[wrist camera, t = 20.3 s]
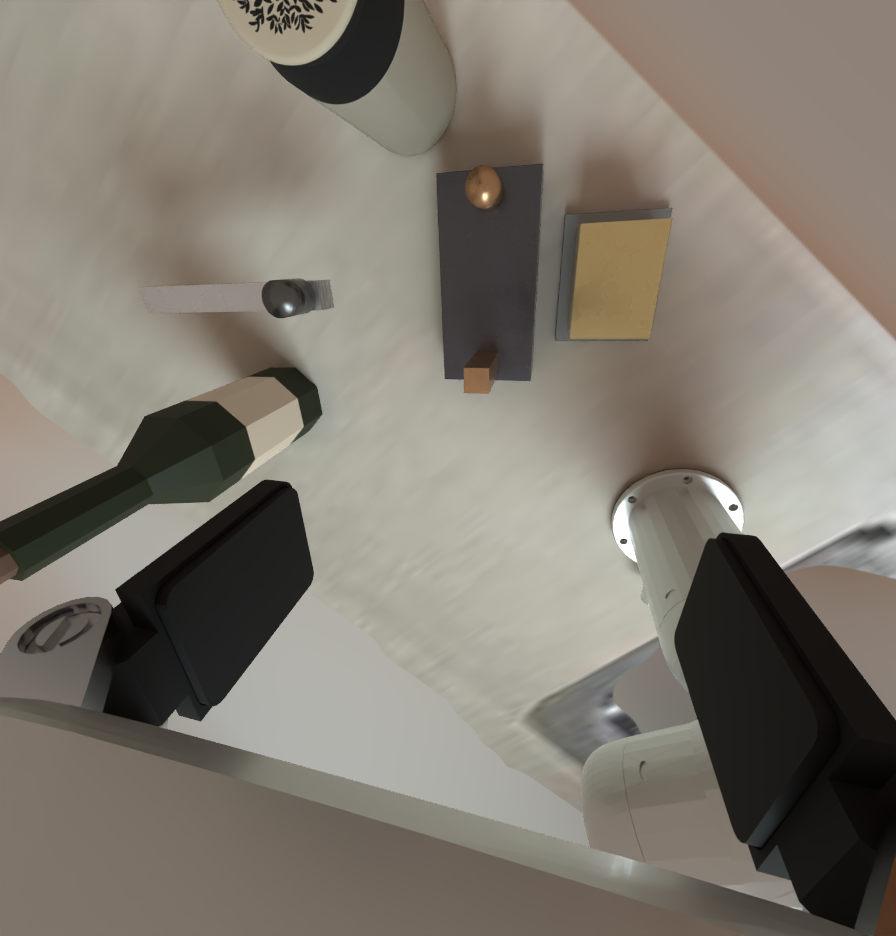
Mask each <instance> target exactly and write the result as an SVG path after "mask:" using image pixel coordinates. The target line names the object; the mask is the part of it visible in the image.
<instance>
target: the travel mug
mask: <svg viewBox="0 0 896 936" xmlns="http://www.w3.org/2000/svg"><path fill="white" fill-rule="evenodd" d="M217 1H218V3H219V6H220V8H221V9H222V11H223V13H224V15H225V17H226V18H227V20H228V22H229V23H230V25H231V26H232V28H233V29H234V30H235V32H236V33H237V34H238V36H239V37H240V38H241V39H242V40H243V41H244V42H245V43H246V44H247V45H248V46H249V47H250V48H251V49H252V50H254V51H255V52H256V53H258V54H259V55H261V56H262V57H264V58H266V59H268V60H269V61H270V62H271V63H272V65H273V66H274V67H275V69H276V70H277V71H278V72H279V73H280V74H281V75H282V76H283V77H284V78H285V79H286V80H287V81H288V82H290V83H291V84H293V85H294V86H295V87H297V88H298V89H300V90H301V91H303V92H304V93H306V94H307V95H309V96H310V97H311V98H313V99H314V100H316V101H317V102H319V103H320V104H322V105H323V106H325V107H326V108H328V109H329V110H330V111H332V112H333V113H335V114H336V115H338V116H339V117H341V118H342V119H344V120H345V121H347V122H348V123H350V124H351V125H352V126H354V127H355V128H357V129H358V130H360V131H361V132H363V133H364V134H366V135H367V136H369V137H370V138H371V139H373V140H374V141H376V142H377V143H379V144H380V145H382V146H383V147H385V148H386V149H388V150H389V151H391V152H393V153H395V154H399V155H404V156H412V155H417V154H420V153H423V152H425V151H427V150H428V149H430V148H431V147H432V146H433V145H435V144H436V143H437V142H438V140H439V139H440V138H441V137H442V135H443V134H444V132H445V131H446V129H447V127H448V125H449V123H450V120H451V118H452V114H453V111H454V106H455V100H456V77H455V71H454V67H453V63H452V60H451V57H450V55H449V53H448V51H447V49H446V46H445V44H444V42H443V40H442V38H441V36H440V34H439V32H438V30H437V28H436V26H435V24H434V22H433V20H432V18H431V16H430V14H429V12H428V10H427V7H426V5H425V3H424V1H423V0H217Z"/></svg>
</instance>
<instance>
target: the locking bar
mask: <svg viewBox="0 0 896 936" xmlns="http://www.w3.org/2000/svg"><path fill="white" fill-rule="evenodd" d="M139 288H140V291H141V294H142V296H143V299H144V302H145V305H146V308H147V311H148V313H193V312H249V311H268V312H269V313H270V314H271V315H273V316H274V317H277V318H286V317H291V316H295V315H300V314H304V313H308V312H310V311H311V310H325V309H329V308H334V304H333V298H332V292H331V285H330V280H309V281H305V280H303V279H285V280H272V281H269V282H253V283H225V284H197V285H169V286H150V287H139Z"/></svg>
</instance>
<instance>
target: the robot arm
mask: <svg viewBox="0 0 896 936" xmlns="http://www.w3.org/2000/svg"><path fill="white" fill-rule="evenodd" d="M685 477H686V478H685ZM630 496H632V497H630ZM743 524H744V510H743V507H742V504H741V502H740V500H739V498H738V497H737V495H736V494H735V493H734V491H733V490H732V489H731V488H730V487H729V486H728V485H727V484H726V483H724V482H723V481H722V480H720V479H719V478H717V477H715V476H713V475H711V474H708V473H705V472H701V471H697V470H689V469H674V470H667V471H662V472H657V473H655V474H652V475H649V476H646V477H644V478H643V479H641V480H639V481H637V482H635V483H634V484H633V485H632V486H630V487H629V488H628V489H627V490H626V491H625V492H624V493H623V494H622V495H621V497H620V498H619V499H618V501H617V503H616V505H615V507H614V510H613V513H612V522H611V525H612V531H613V535H614V538H615V541H616V543H617V544H618V546H619V548H620V549H621V550H622V551H623V552H624V553H625V554H626V555H627V556H628V557H629V558H631V559H632V560H634V561H635V562H637V565H638V568H639V572H640V575H641V579H642V582H643V590H642V594H641V600H642V601H643V602H644V603H645V604H647V605H649V606H650V610H651V613H652V617H653V620H654V624H655V627H656V630H657V634H658V637H659V641H660V645H661V648H662V651H663V655H664V657H665V660H666V662H667V664H668V666H669V668H670V670H671V671H672V673H673V675H674V676H675V678H677V680H678V681H679V682H680V684H681V685H682V686H683V687H684V688H685V689H686V690H687V691H688V692H689V694H690V697H691V700H692V703H693V706H694V709H695V712H696V715H697V719H698V720H695V721H693V722H692V723H688V724H683V725H679V726H674V727H670V728H666V729H661V730H657V731H653V732H648V733H643V734H639V735H634V736H630V737H626V738H622V739H618V740H615V741H612V742H609V743H606V744H604V745H602V746H600V747H599V748H597V749H596V750H595V751H594V752H593V753H592V754H591V755H590V756H589V757H588V759H587V761H586V763H585V764H584V768H583V771H582V775H581V788H580V791H581V805H582V813H583V818H584V824H585V828H586V832H587V836H588V840H589V844H590V847H586V846H583V845H579V844H576V843H572V842H569V841H565V840H562V839H558V838H555V837H551V836H548V835H544V834H541V833H537V832H533V831H530V830H527V829H523V828H520V827H516V826H513V825H509V824H506V823H502V822H499V821H495V820H492V819H488V818H485V817H481V816H478V815H474V814H471V813H467V812H463V811H460V810H457V809H453V808H450V807H446V806H442V805H439V804H435V803H432V802H428V801H425V800H421V799H418V798H414V797H410V796H407V795H403V794H400V793H396V792H393V791H389V790H385V789H382V788H378V787H375V786H371V785H368V784H364V783H360V782H357V781H353V780H349V779H346V778H343V777H339V776H335V775H332V774H328V773H324V772H321V771H317V770H314V769H310V768H306V767H303V766H299V765H296V764H292V763H289V762H285V761H282V760H278V759H274V758H270V757H267V756H263V755H260V754H256V753H252V752H249V751H245V750H242V749H238V748H234V747H231V746H227V745H223V744H220V743H216V742H212V741H208V740H205V739H201V738H198V737H194V736H190V735H186V734H183V733H179V732H176V731H172V730H168V729H167V723H168V717H169V716H170V715H171V714H172V713H173V712H174V710H175V709H176V710H177V713H178V714H179V716H183V717H187V718H190V719H194V720H198V721H201V720H202V719H203V718H204V717H205V715H206V714H207V713H208V711H209V710H210V709H211V708H212V706H216V705H218V704H219V703H220V702H221V701H222V700H223V699H224V698H225V697H226V695H227V694H228V693H229V691H230V690H231V689H232V687H233V686H234V685H235V684H236V682H237V681H238V680H239V678H240V677H241V676H242V674H243V673H244V672H245V670H246V669H247V668H248V666H249V665H250V664H251V663H252V661H253V660H254V658H255V657H256V656H257V655H258V653H259V652H260V651H261V649H262V648H263V647H264V645H265V644H266V643H267V641H268V640H269V639H270V638H271V636H272V635H273V634H274V632H275V631H276V630H277V628H278V627H279V626H280V624H281V623H282V622H283V620H284V619H285V618H286V617H287V615H288V614H289V613H290V611H291V610H292V609H293V607H294V606H295V605H296V603H297V602H298V601H299V599H300V598H301V597H302V595H303V594H304V593H305V591H306V590H307V589H308V588H309V586H310V585H311V583H312V580H313V575H314V572H313V566H312V561H311V556H310V551H309V547H308V542H307V537H306V532H305V527H304V522H303V518H302V513H301V508H300V503H299V498H298V494H297V491H296V490H295V489H293V488H292V486H291V485H290V483H288V482H283V481H275V480H263V481H261V482H260V483H259V484H257V485H256V486H255V487H253V488H252V489H251V490H249V491H248V492H247V493H245V494H244V495H242V496H241V497H240V498H238V499H237V500H236V501H234V502H233V503H232V504H230V505H229V506H228V507H226V508H225V509H224V510H222V511H221V512H219V513H218V514H217V515H215V516H214V517H213V518H211V519H210V520H209V521H207V522H206V523H205V524H203V525H202V526H201V527H199V528H198V529H196V530H195V531H194V532H192V533H191V534H190V535H188V536H187V537H186V538H184V539H183V540H182V541H180V542H179V543H178V544H176V545H175V546H173V547H172V548H171V549H170V550H168V551H167V552H165V553H164V554H163V555H162V556H160V557H159V558H157V559H156V560H155V561H153V562H152V563H151V564H149V565H148V566H146V567H145V568H144V569H142V570H141V571H140V572H138V573H137V574H136V575H134V576H133V577H131V578H130V579H129V580H127V581H126V582H125V583H124V584H122V585H121V586H120V587H118V588H117V589H115V590H116V592H117V594H118V596H119V598H120V600H121V603H120V604H119V605H117V606H116V607H115V608H113V607H112V605H111V604H110V603H109V601H108V600H107V599H104V598H100V597H86V598H80V599H75V600H71V601H69V602H66V603H63V604H60V605H57V606H55V607H53V608H51V609H49V610H47V611H45V612H42V613H41V614H39V615H38V616H36V617H34V618H33V619H31V620H30V621H28V622H27V623H26V624H24V625H23V626H22V627H21V628H20V629H18V630H17V631H16V632H15V633H14V634H13V636H12V637H11V638H10V640H9V641H8V642H7V644H6V645H5V647H4V649H3V651H2V653H1V654H0V936H896V720H895V719H894V717H893V716H892V715H891V714H890V712H889V711H888V709H887V708H886V707H885V705H884V704H883V703H882V701H881V700H880V699H879V697H878V696H877V695H876V693H875V692H874V691H873V690H872V688H871V687H870V686H869V684H868V683H867V682H866V680H865V679H864V678H863V676H862V675H861V674H860V672H859V671H858V670H857V668H856V667H855V666H854V664H853V663H852V662H851V660H850V659H849V658H848V656H847V655H846V654H845V652H844V651H843V650H842V648H841V647H840V646H839V644H838V643H837V642H836V640H835V639H834V638H833V636H832V635H831V634H830V633H829V631H828V630H827V629H826V627H825V626H824V624H823V623H822V622H821V620H820V619H819V618H818V616H817V615H816V614H815V612H814V611H813V610H812V608H811V607H810V606H809V605H808V603H807V602H806V601H805V599H804V598H803V597H802V595H801V594H800V593H799V591H798V590H797V589H796V587H795V586H794V585H793V583H792V582H791V581H790V579H789V578H788V577H787V575H786V574H785V573H784V571H783V570H782V569H781V567H780V566H779V565H778V563H777V562H776V561H775V559H774V558H773V557H772V555H771V554H770V553H769V551H768V550H767V549H766V547H765V546H764V545H763V543H762V542H761V541H760V540H759V539H758V538H757V537H756V536H751V535H743V534H742V529H743Z"/></svg>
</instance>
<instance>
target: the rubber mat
mask: <svg viewBox="0 0 896 936" xmlns="http://www.w3.org/2000/svg"><path fill="white" fill-rule="evenodd" d="M671 212H672V208H661V209H645V210H630V211H614V212H599V213H583V214H568V215H565V226H564V239H563V251H562V263H561V275H560V288H559V300H558V312H557V324H556V337H555V341H648V339H570V338H569V334H568V330H567V328H568V317H569V306H570V296H571V285H572V274H573V264H574V253H575V242H576V232H577V228H578V226H579V225H580V224H583V223H600V222H617V221H633V220H650V219H667V218H670V217H671Z"/></svg>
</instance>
